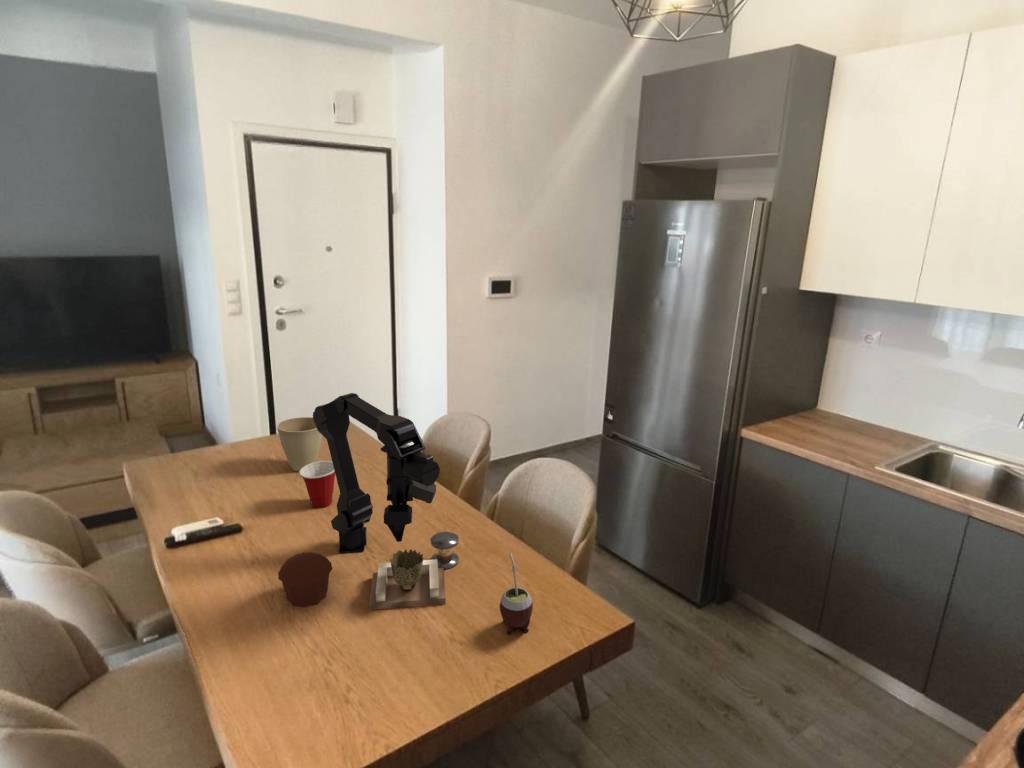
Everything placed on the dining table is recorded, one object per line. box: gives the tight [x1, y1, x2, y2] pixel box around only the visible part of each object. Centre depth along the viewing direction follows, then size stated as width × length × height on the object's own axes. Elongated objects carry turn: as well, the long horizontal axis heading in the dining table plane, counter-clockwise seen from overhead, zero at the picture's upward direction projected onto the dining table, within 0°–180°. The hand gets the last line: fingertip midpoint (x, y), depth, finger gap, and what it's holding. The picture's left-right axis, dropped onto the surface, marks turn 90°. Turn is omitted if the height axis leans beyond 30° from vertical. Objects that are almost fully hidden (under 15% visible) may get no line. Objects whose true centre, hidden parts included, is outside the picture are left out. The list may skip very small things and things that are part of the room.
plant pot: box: [276, 416, 323, 472], centre depth 200 cm, size 15×15×16 cm
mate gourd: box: [499, 551, 534, 636], centre depth 125 cm, size 8×8×15 cm
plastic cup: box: [298, 460, 336, 509], centre depth 176 cm, size 11×11×12 cm
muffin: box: [277, 551, 333, 608], centre depth 134 cm, size 12×11×10 cm
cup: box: [389, 548, 424, 591], centre depth 135 cm, size 8×7×8 cm
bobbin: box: [430, 531, 460, 570], centre depth 148 cm, size 7×7×6 cm
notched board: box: [368, 559, 447, 611], centre depth 137 cm, size 17×12×4 cm
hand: (400, 530), depth 141 cm, fingers open, 9 cm apart
